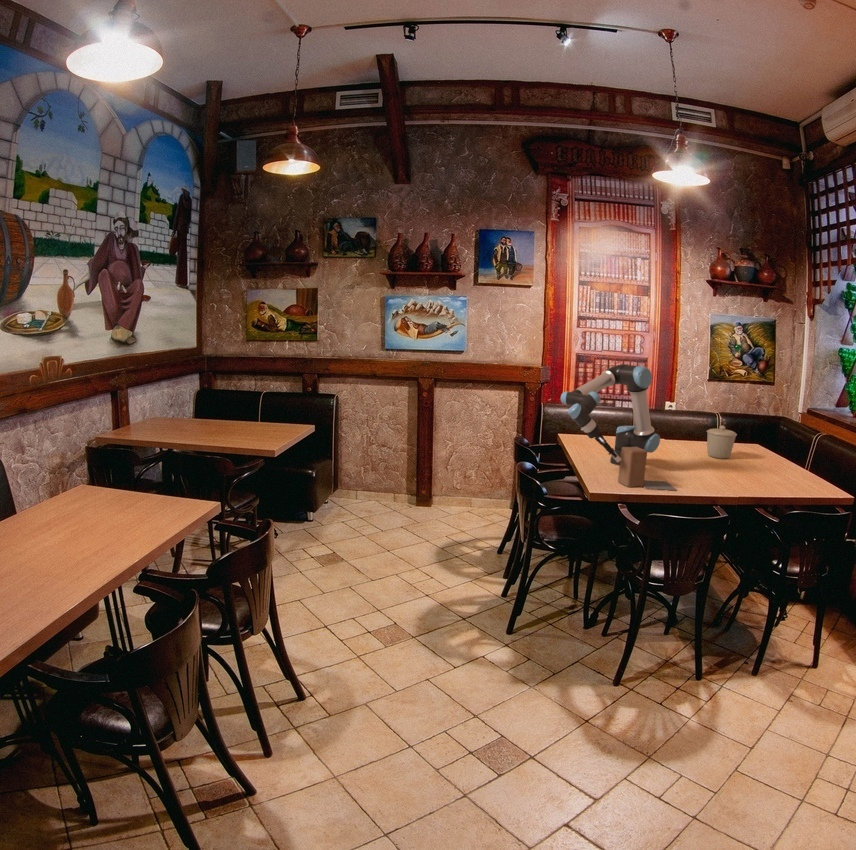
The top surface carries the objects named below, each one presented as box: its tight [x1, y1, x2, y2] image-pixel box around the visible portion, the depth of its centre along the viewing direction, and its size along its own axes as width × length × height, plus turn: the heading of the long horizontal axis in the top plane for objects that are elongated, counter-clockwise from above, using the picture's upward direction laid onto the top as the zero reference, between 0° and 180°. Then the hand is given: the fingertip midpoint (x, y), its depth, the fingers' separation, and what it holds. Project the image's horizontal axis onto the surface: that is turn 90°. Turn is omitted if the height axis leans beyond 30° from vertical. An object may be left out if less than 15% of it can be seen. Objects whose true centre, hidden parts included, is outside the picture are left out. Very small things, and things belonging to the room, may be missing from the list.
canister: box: [706, 425, 738, 460], centre depth 397 cm, size 18×18×21 cm
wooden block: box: [617, 447, 648, 488], centre depth 324 cm, size 10×10×20 cm
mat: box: [642, 479, 678, 492], centre depth 326 cm, size 16×16×1 cm
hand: (619, 460), depth 324 cm, fingers closed
